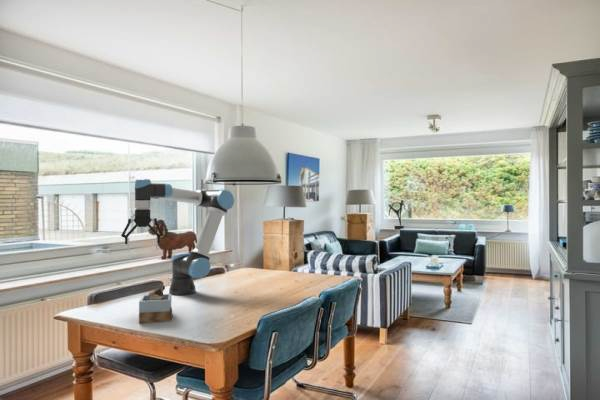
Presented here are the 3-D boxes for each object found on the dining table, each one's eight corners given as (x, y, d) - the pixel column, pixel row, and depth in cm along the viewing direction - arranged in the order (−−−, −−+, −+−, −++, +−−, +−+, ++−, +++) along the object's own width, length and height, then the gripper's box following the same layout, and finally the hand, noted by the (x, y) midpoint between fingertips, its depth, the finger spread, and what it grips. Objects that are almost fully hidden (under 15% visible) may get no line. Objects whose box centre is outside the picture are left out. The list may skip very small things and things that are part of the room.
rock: (175, 298, 195) (165, 283, 200) (166, 295, 189) (156, 279, 193) (160, 312, 194) (151, 296, 199) (151, 309, 188) (142, 293, 193)
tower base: (170, 314, 202) (170, 303, 202) (172, 322, 189) (172, 310, 189) (139, 316, 197) (139, 306, 197) (139, 325, 184) (139, 313, 184)
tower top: (171, 304, 201) (171, 293, 201) (169, 311, 189) (169, 300, 189) (142, 305, 198) (142, 295, 198) (139, 312, 185) (139, 301, 185)
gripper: (167, 208, 223) (167, 248, 223) (116, 208, 215) (116, 250, 215) (168, 208, 216) (168, 249, 216) (115, 209, 208) (115, 251, 208)
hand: (142, 250), depth 216 cm, fingers open, 13 cm apart
